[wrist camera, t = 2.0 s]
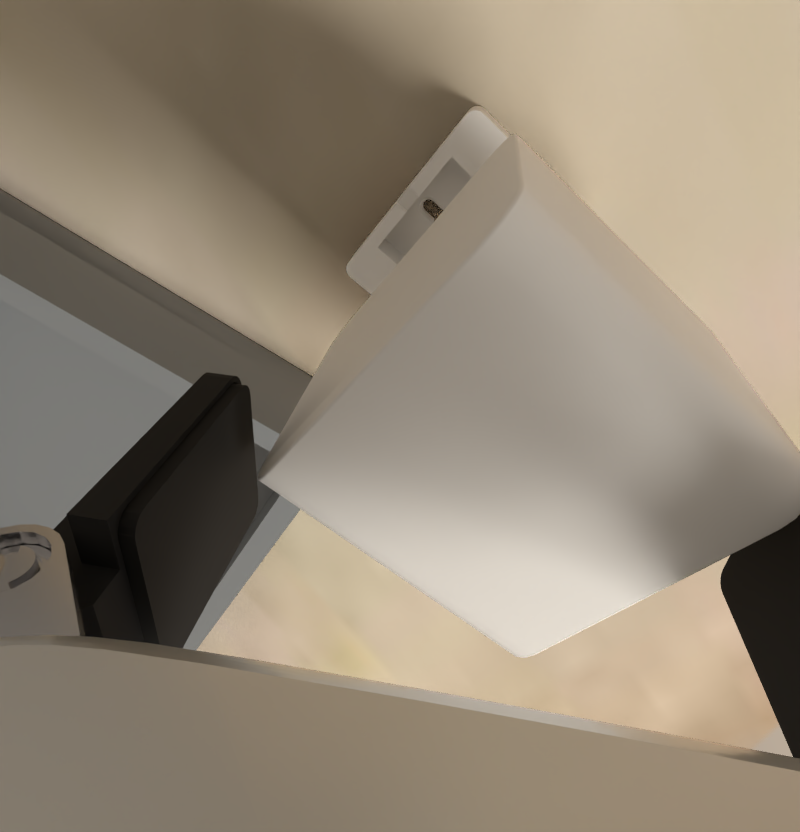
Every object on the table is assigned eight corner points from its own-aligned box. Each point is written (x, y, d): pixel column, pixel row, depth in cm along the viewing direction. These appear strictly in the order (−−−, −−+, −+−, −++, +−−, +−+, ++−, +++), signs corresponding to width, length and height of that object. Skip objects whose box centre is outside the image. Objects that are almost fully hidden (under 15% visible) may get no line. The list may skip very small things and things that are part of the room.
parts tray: (-29, 171, 18) (-134, 197, 15) (357, 404, 20) (333, 464, 17) (-77, 531, 28) (-143, 587, 25) (179, 653, 31) (146, 716, 28)
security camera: (506, 403, 19) (508, 673, 11) (343, 267, 18) (200, 466, 9) (666, 268, 16) (839, 504, 8) (488, 85, 14) (467, 141, 6)
